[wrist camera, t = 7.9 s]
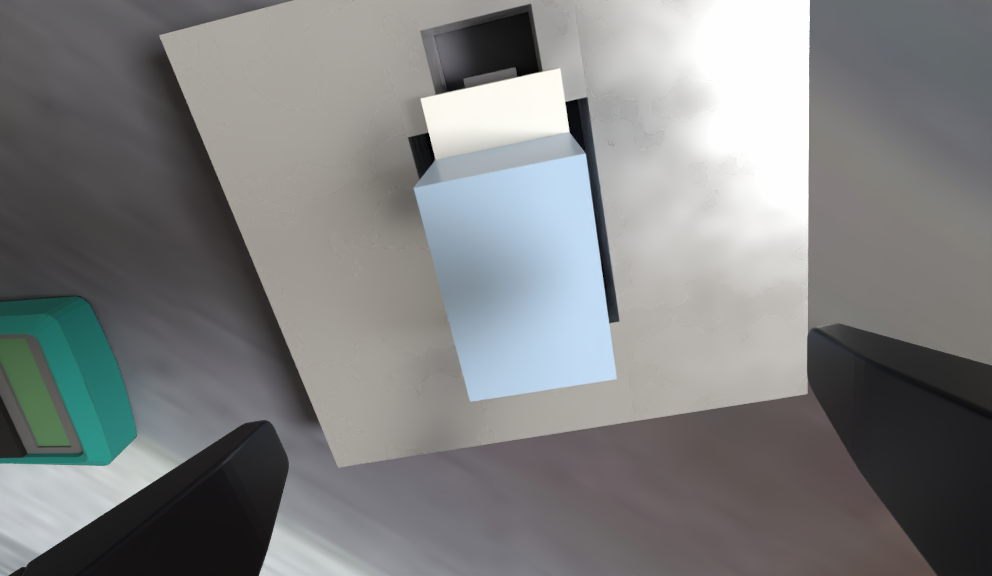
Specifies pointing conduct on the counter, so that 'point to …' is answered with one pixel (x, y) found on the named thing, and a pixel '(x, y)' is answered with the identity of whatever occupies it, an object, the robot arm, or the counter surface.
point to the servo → (515, 236)
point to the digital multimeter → (59, 386)
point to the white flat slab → (614, 185)
